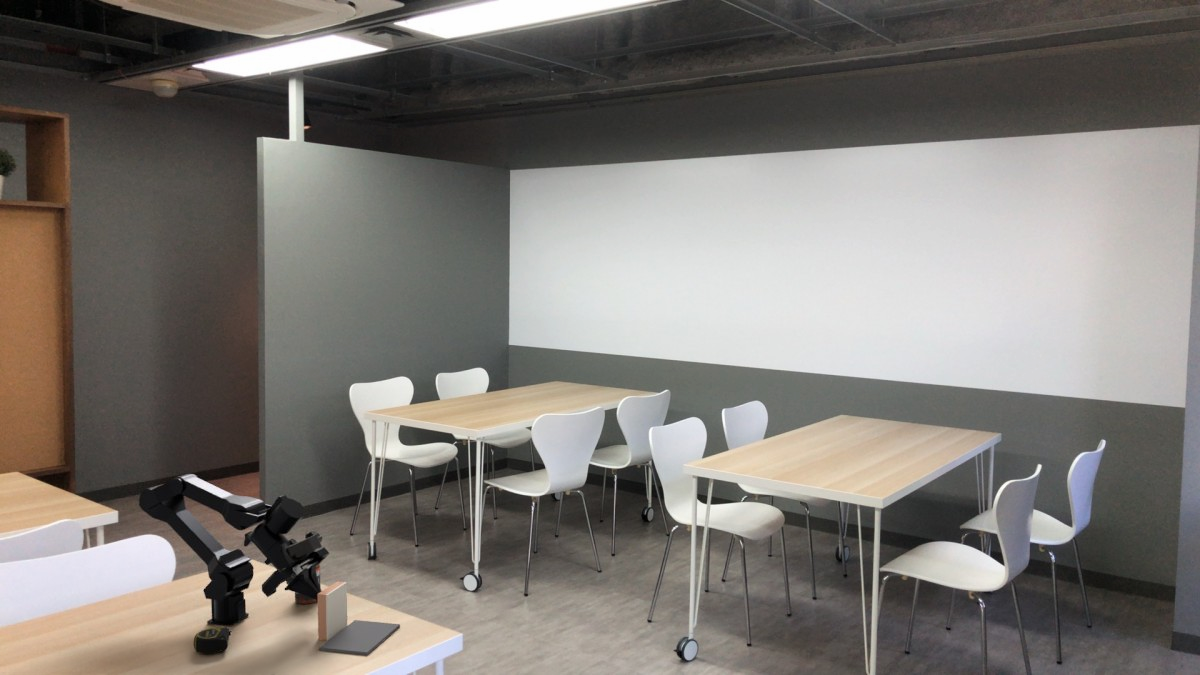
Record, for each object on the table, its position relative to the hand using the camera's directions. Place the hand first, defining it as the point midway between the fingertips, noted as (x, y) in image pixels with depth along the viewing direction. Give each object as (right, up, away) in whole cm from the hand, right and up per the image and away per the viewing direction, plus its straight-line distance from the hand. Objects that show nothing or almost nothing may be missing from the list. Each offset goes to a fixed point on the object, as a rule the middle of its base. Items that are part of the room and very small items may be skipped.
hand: (321, 598), depth 187 cm
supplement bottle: (-10, -6, +19) cm, 22 cm away
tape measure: (-19, -8, -8) cm, 23 cm away
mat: (+10, -7, -3) cm, 13 cm away
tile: (+3, -7, 0) cm, 8 cm away
